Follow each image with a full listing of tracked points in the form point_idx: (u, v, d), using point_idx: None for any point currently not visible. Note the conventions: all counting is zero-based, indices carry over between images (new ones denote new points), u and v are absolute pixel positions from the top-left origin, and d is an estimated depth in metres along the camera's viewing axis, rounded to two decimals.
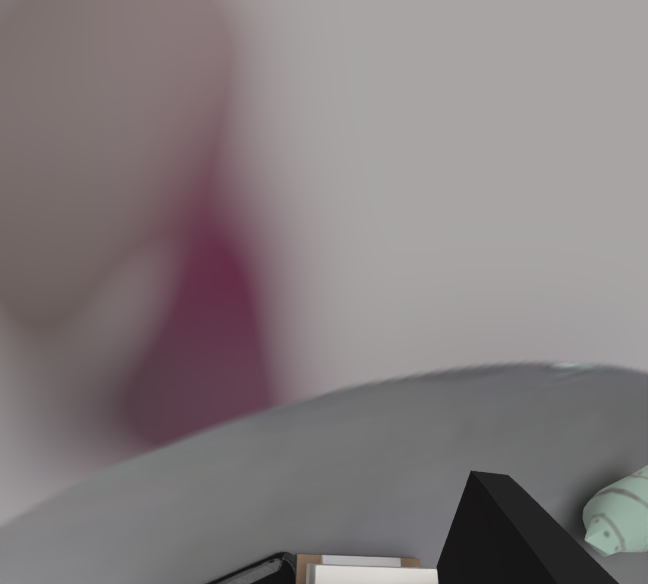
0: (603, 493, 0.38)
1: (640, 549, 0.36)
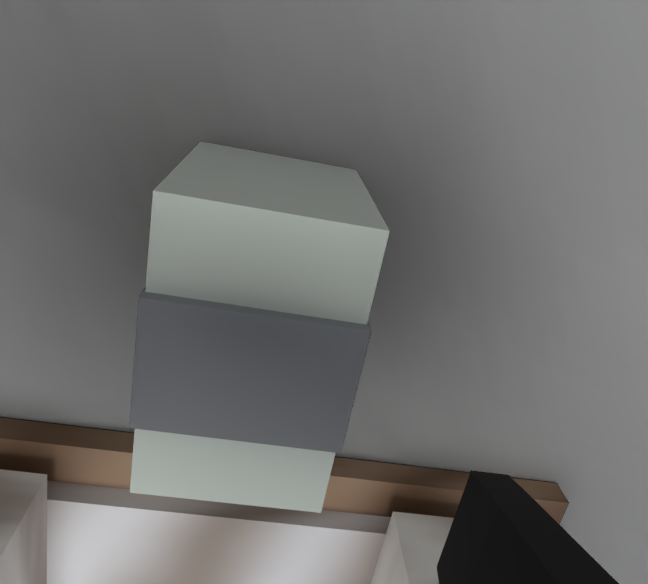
0: None
1: None
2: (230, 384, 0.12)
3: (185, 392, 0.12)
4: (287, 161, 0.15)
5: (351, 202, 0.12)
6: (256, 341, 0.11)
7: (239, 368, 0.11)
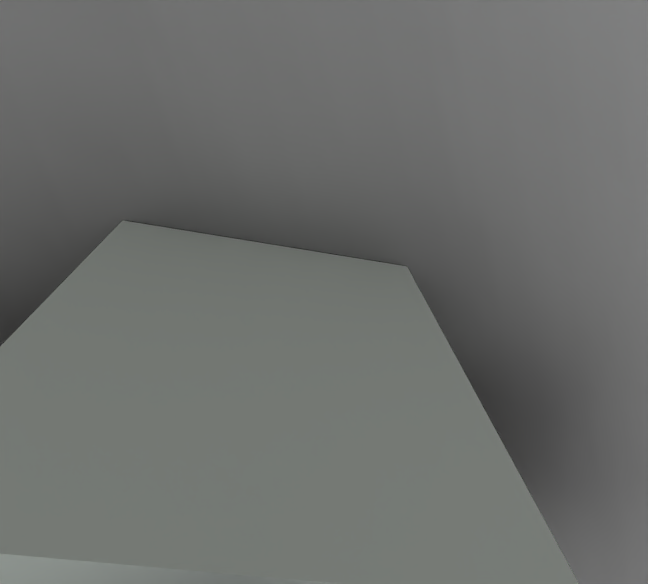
0: None
1: None
2: None
3: None
4: (283, 262, 0.08)
5: (435, 421, 0.05)
6: None
7: None
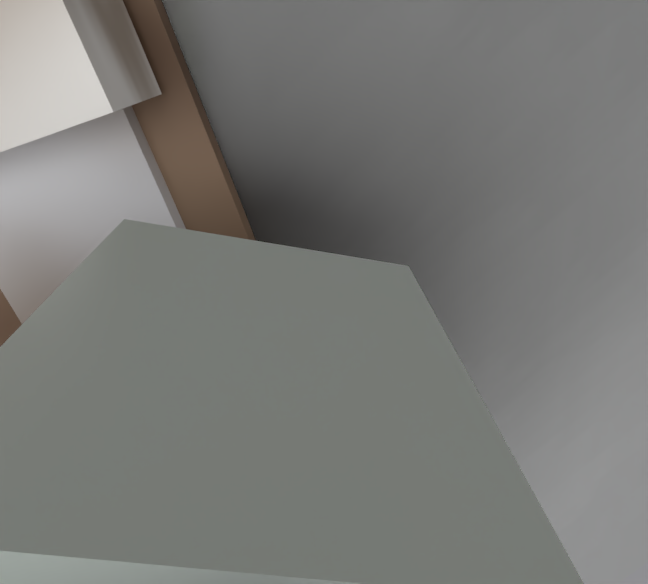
0: None
1: None
2: None
3: None
4: (284, 261, 0.08)
5: (438, 419, 0.05)
6: None
7: None
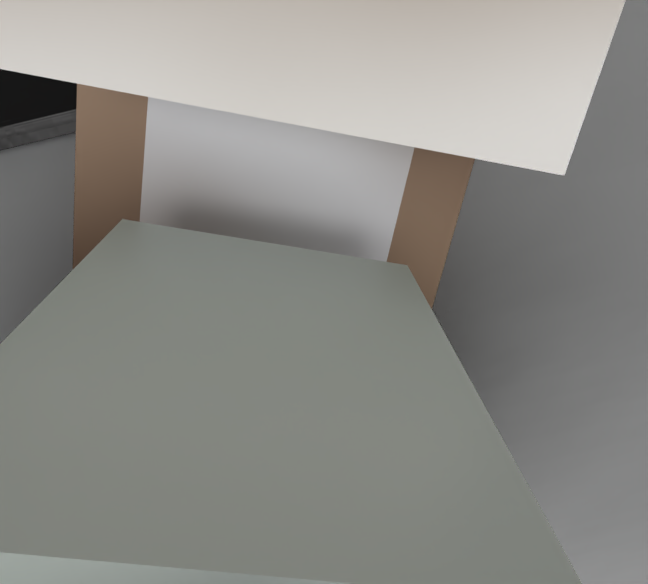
0: None
1: None
2: None
3: None
4: (283, 260, 0.08)
5: (436, 419, 0.05)
6: None
7: None
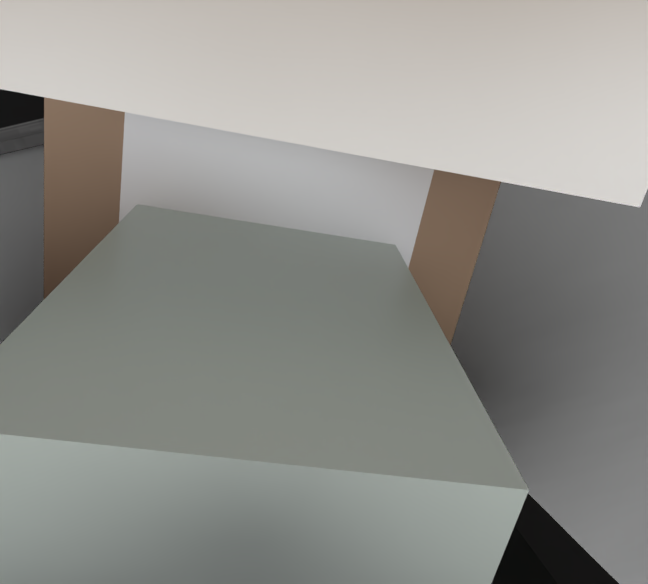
0: None
1: None
2: None
3: None
4: (282, 240, 0.09)
5: (412, 363, 0.06)
6: None
7: None
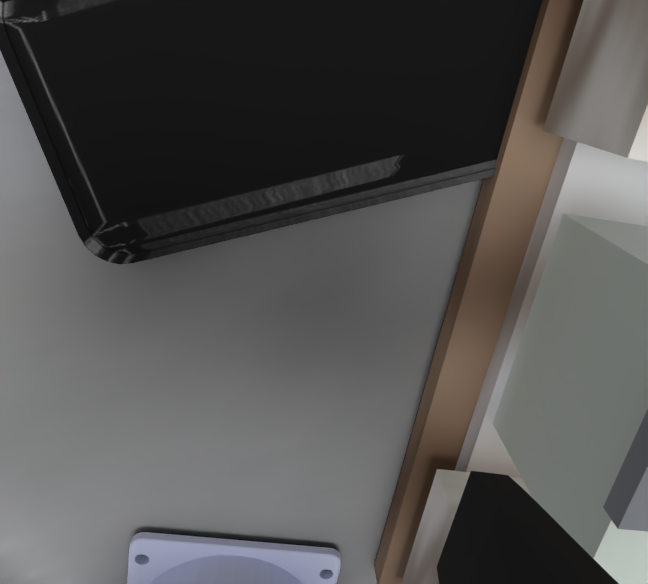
0: None
1: None
2: None
3: None
4: None
5: None
6: None
7: None
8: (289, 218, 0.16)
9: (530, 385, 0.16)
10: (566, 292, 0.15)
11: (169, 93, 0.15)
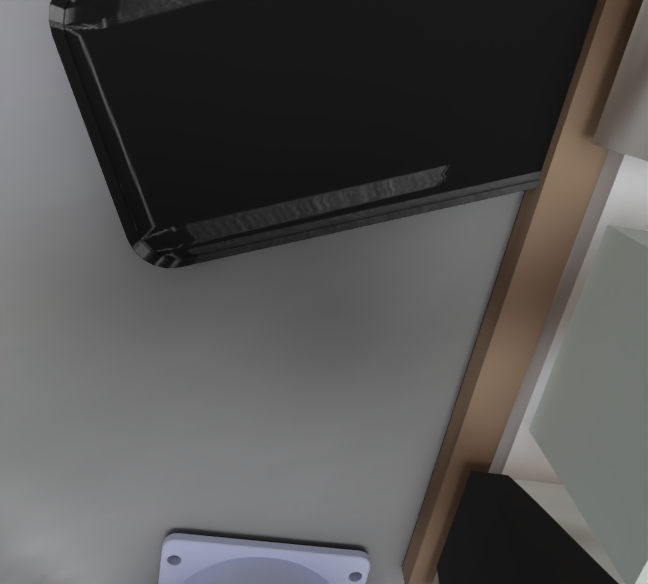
0: None
1: None
2: None
3: None
4: None
5: None
6: None
7: None
8: (335, 225, 0.17)
9: (571, 393, 0.16)
10: (611, 302, 0.15)
11: (223, 102, 0.15)
